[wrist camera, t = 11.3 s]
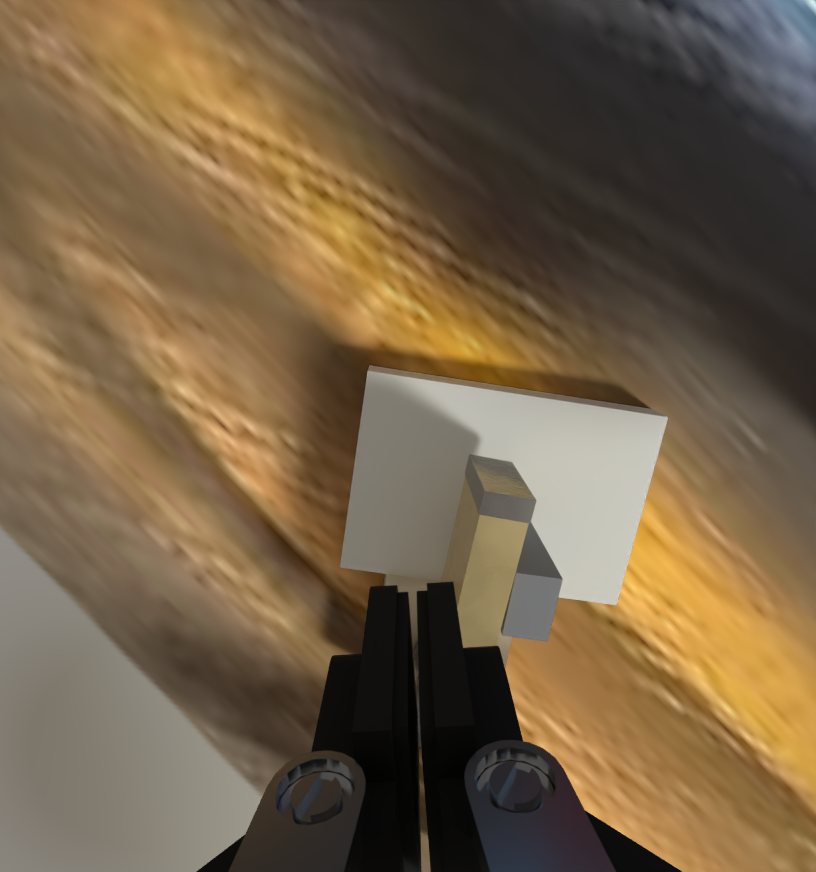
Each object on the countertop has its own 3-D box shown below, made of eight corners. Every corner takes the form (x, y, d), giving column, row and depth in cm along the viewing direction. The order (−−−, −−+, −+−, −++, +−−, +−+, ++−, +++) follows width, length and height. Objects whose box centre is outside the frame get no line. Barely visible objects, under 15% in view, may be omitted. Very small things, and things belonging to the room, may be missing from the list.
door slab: (369, 365, 30) (359, 393, 22) (651, 408, 31) (735, 450, 23) (343, 550, 33) (326, 633, 25) (603, 586, 34) (665, 677, 26)
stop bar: (465, 685, 31) (479, 766, 26) (407, 676, 31) (408, 755, 26) (522, 463, 28) (551, 504, 23) (457, 451, 28) (471, 489, 23)
